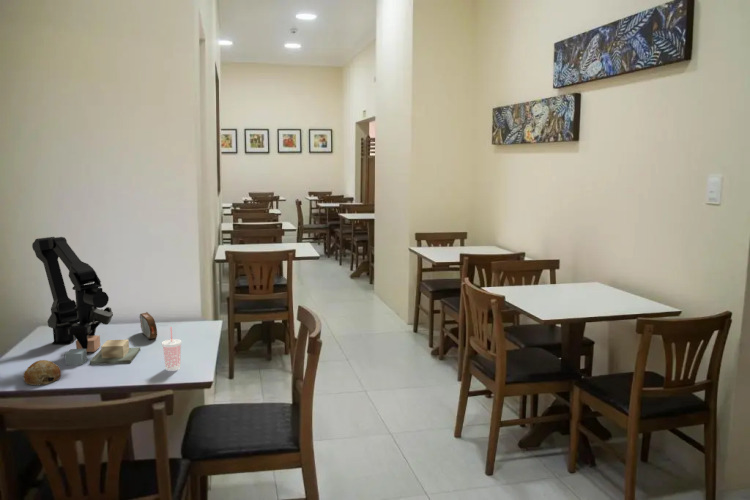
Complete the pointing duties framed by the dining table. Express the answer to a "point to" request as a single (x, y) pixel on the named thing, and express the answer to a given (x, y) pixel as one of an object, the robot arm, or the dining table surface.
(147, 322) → the tin
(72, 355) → the gray brick
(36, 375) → the bread roll
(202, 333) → the dining table surface
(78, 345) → the terracotta brick
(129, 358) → the build board
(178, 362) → the beverage cup
